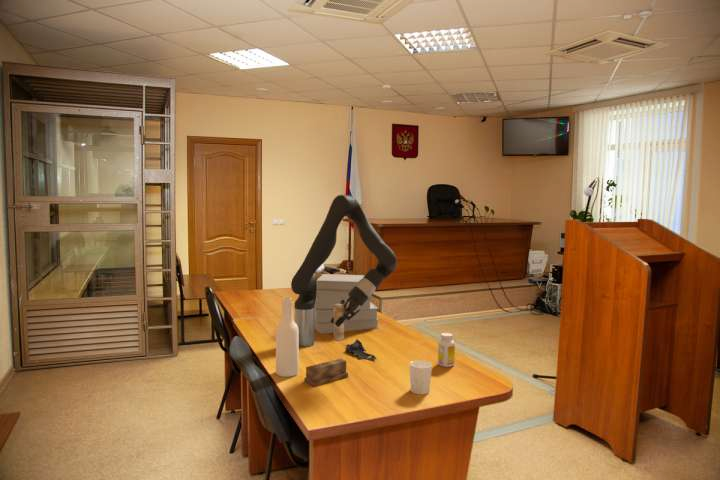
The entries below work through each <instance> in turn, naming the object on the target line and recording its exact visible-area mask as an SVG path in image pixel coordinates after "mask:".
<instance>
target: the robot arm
mask: <svg viewBox="0 0 720 480" xmlns="http://www.w3.org/2000/svg"><path fill="white" fill-rule="evenodd" d="M330 204H331V205H330V207H329V209H328V212H327V214H326V217H325V219H324V221H323V223H322V225H321V227H320V229H319V231H318V233H317V235H316V237H315V238H314V241H313V242H312V243H311V246H310V248H309V250H308V252H307V254H306V256H305V258H304V260H303V262H302V263H301V265H300V266H299V269H298V270H297V271H296V273H294V275H293V277H292V280H291V282H290V285H291V286H290V287H291V291H292V292H293V293H294V294H295V295H298V297H297V299H296V300H295V301H294V305H293V306H294V307H293V308H294V322H295V323H296V324H297V326H298V330H299V347H304V348H305V347H311V346H314V345H315V329H314V305H315V302H316V301H317V281H316V280H317V279H316V277H315V273H316V271H317V270H319V268H320V267H321V266H322V265H323V264H324V263H326V261H327V260H328V258H330V256H331V254H332V252H333V250H334V249H335V246H336V242H337V236H338V235H337V232H338V228H339V226H340V224H341V222H342V220H343V219H344V218H345V217H348V218H349V219H350V220H351V222H353V223H354V225H355V226H356V227H357V230H358V234H359V237H360V239H361V241H362V242H363V244H364V245H365V246H366V248H367V249H368V251H369V252H370V253H371V254H373V255H374V256H375V258H376V259H377V260H378V261H379V262H378V263H377V265H375V267H374V268H373V267H372V268H371V269H369V270H368V271H367V272H366V273H365V274H364V275H365V276H364V277H363V278H362V279H361V280H360V281H359V282H358V283H357V284H356V285H355V286H354V288H353V289H352V290H351V291H350V292H349V293H348V295H349V298H348V299H347V300H346V301H344V300H342V301H341V302H340V304H344V310H343V311H344V312H343V314H342V315H341V316H340V317H339V319H338V320H337V321H336V322H335V325H336V326H337V327H339V326H340V325H341V324H342V323H343V322H344V321H345V320H350V319H351V318H352V317H353V316H354V315H356V314H357V313H358V312H359V309H358V306H359V305H360V306H363V305H364V303H365V302H366V301H367V300H368V299H369V297H370V298H371V297H372V295H373V294H374V293H375V291H376V290H377V288H378V287H379V286H380V285H381V283H383V281H384V280H385V279H386V278H388V276H390V275H391V274H392V273H393V272H394V271H395V269H396V268H397V265H398V261H397V260H398V258H397V255H396V254H395V252H394V251H393V250H392V249H391V248H390V246H388V244H386V243H385V241H384V240H383V238H382V237H381V236H380V235H379V233H378V232H377V230H376V229H375V228H374V227H373V225H372V224H371V223H370V221H369V219H368V217H367V215H366V214H365V212H364V210H363V207H362V206H361V204H360V203H359V201H358V199H357V198H356V197H355V196H353V195H348V194H347V195H346V194H339V195H337V196H335V197H334V198H333V200H332V202H331V203H330ZM330 321H331V322H332V323H333V324H334V317H333V318H332V319H331V320H330Z"/></svg>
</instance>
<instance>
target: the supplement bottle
mask: <svg viewBox="0 0 720 480" xmlns="http://www.w3.org/2000/svg"><path fill="white" fill-rule="evenodd" d="M453 336H454V335H453V334H452V333H450V332H443V333H441V334H440V338H441V339H439V341H438V352H437V355H438V356H437V357H438V358H437V364H438V365H439V366H441V367H445V368H450V367H453V366H455V348H456V343H455V341H454V340H453Z"/></svg>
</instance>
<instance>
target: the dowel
mask: <svg viewBox="0 0 720 480" xmlns="http://www.w3.org/2000/svg"><path fill="white" fill-rule="evenodd" d="M343 310H344V304H334V333H333V340H334V341H335V342H342V341H344V339H345V332H344V322H343V323H342V324H341V325H340V326H339V327H337V326H336V325H335V322H336V321H337V320H338V319H339V317H340V316H341V315H342V314H343V312H344V311H343Z"/></svg>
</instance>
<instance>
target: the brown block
mask: <svg viewBox="0 0 720 480" xmlns="http://www.w3.org/2000/svg"><path fill="white" fill-rule="evenodd" d="M348 377H349V373H348V372H347V360H346V359H343V358H339V359H334V360H331V361H330V360H329V361H327V362H326V361H324V362H320V363H317V364H313V365H310V366H306V367H305V377H304V378H303V382H304V383H306V384H308V385H309V386H311V387H313V388H314V387H317V386H320V384H321V385H325V384H329V383H331V382H335V381H339V380H343V379H346V378H348ZM324 383H325V384H324Z"/></svg>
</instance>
